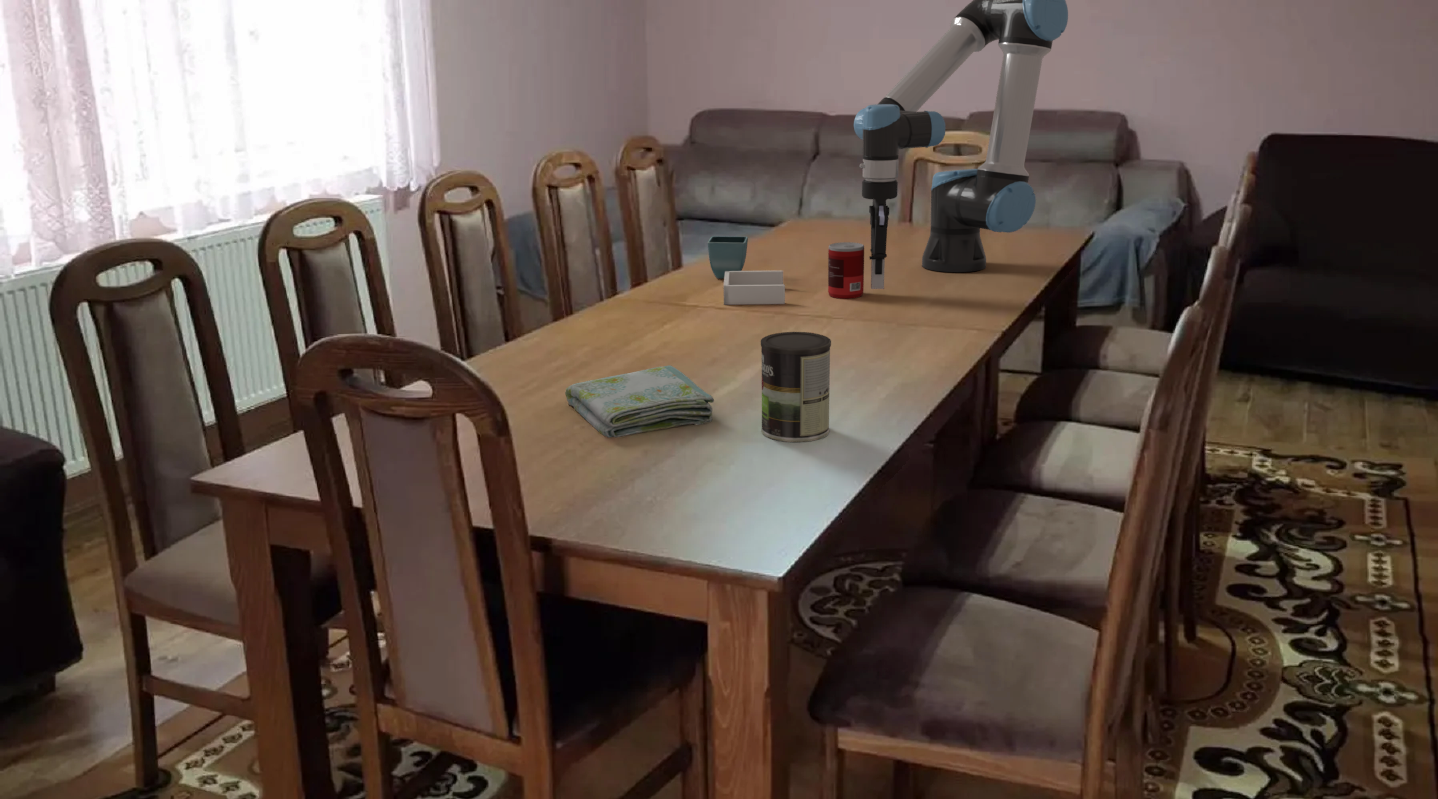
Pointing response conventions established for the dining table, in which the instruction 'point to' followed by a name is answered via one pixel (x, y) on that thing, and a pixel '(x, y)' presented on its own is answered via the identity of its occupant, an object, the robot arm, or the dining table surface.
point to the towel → (640, 401)
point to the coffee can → (795, 386)
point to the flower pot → (727, 254)
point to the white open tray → (754, 287)
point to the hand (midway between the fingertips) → (877, 288)
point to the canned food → (846, 270)
